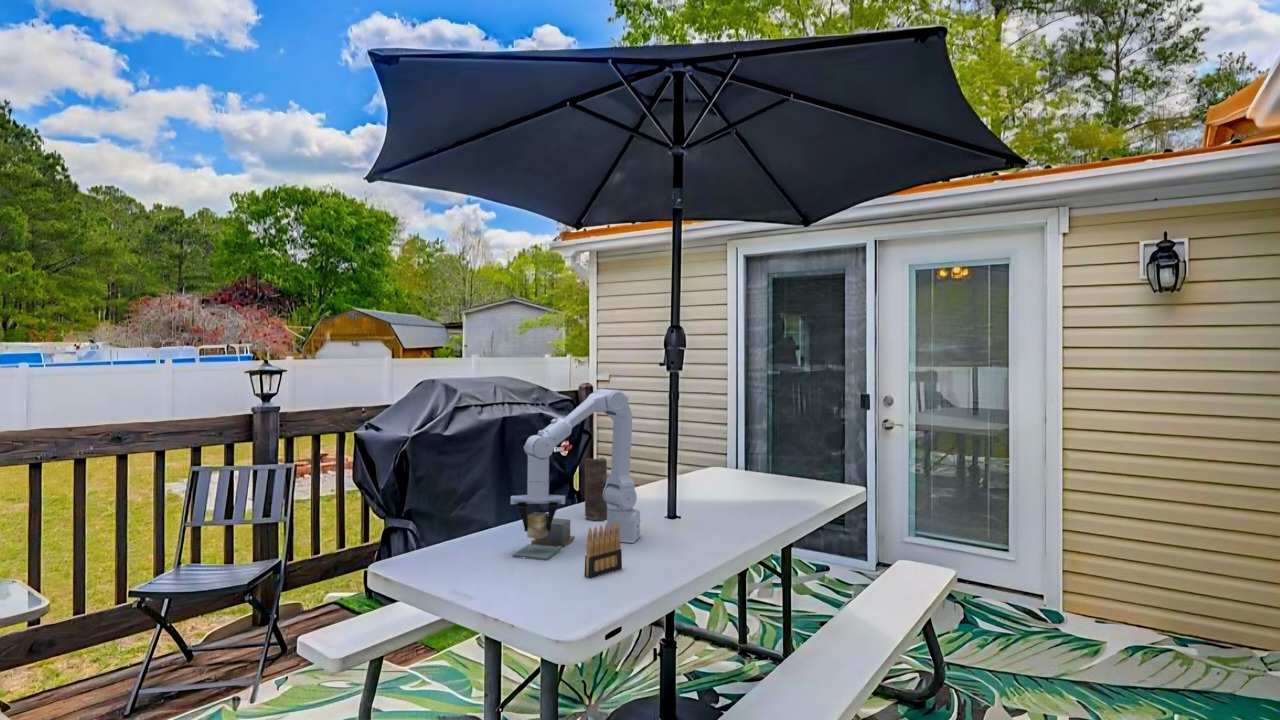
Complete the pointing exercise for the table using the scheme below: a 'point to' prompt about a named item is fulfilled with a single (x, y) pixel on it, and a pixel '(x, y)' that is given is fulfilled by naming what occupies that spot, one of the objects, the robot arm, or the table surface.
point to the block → (537, 525)
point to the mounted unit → (556, 534)
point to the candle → (595, 488)
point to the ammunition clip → (603, 551)
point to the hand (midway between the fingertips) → (537, 530)
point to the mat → (537, 552)
